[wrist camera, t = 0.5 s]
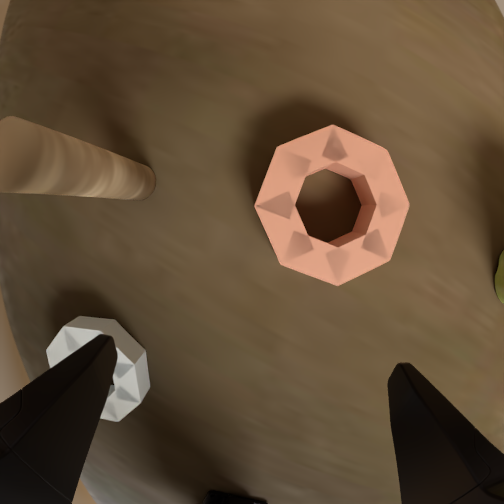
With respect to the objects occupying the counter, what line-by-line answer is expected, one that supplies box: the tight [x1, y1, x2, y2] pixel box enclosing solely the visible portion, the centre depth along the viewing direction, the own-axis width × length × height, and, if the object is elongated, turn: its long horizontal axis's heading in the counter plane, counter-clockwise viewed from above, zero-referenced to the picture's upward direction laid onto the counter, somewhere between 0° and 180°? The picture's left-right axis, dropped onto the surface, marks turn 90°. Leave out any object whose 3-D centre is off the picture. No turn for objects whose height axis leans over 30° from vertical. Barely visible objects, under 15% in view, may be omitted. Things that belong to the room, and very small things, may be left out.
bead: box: [46, 316, 150, 422], centre depth 22 cm, size 8×8×3 cm
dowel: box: [0, 116, 156, 200], centre depth 15 cm, size 3×3×14 cm
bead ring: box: [254, 125, 409, 286], centre depth 20 cm, size 9×9×3 cm
